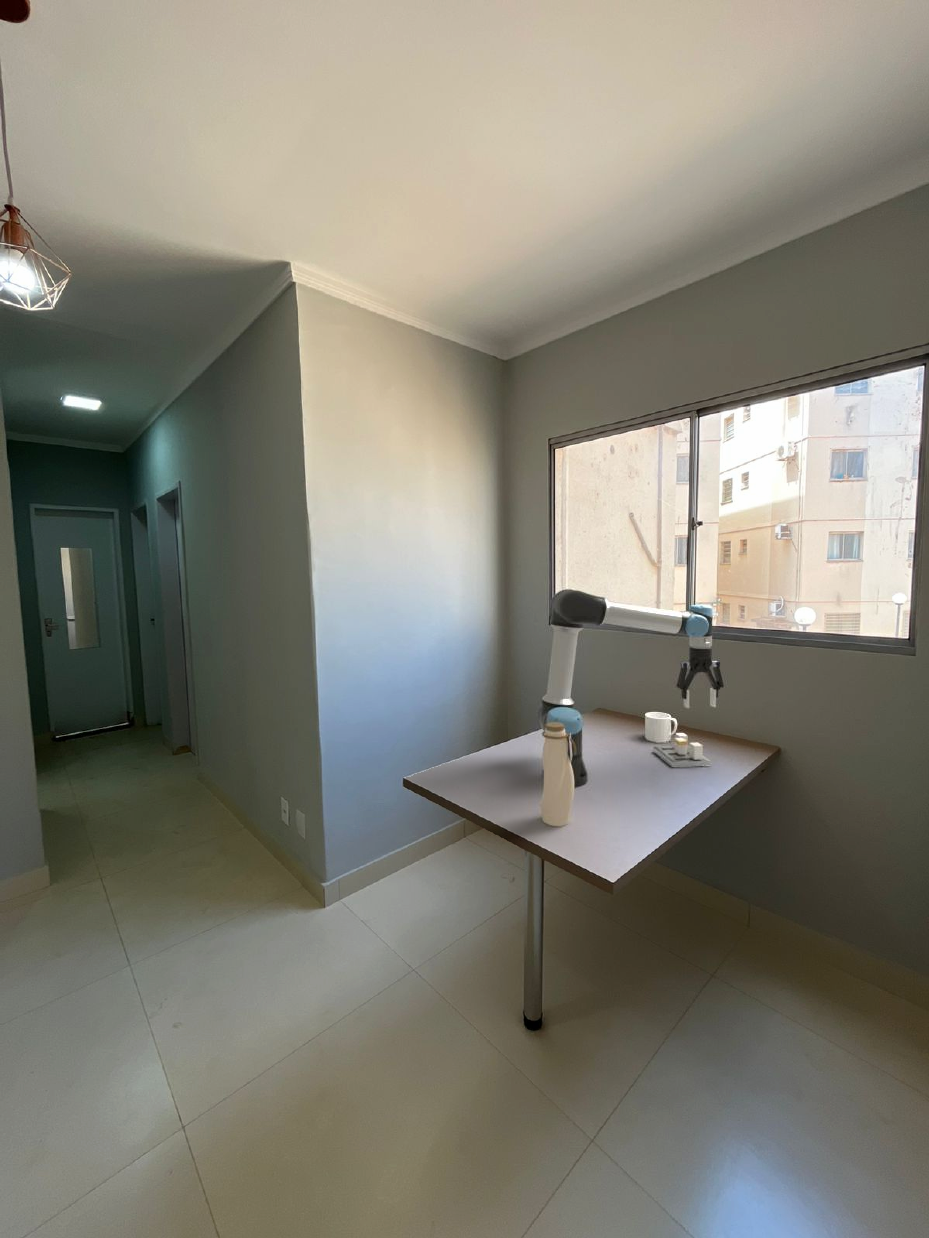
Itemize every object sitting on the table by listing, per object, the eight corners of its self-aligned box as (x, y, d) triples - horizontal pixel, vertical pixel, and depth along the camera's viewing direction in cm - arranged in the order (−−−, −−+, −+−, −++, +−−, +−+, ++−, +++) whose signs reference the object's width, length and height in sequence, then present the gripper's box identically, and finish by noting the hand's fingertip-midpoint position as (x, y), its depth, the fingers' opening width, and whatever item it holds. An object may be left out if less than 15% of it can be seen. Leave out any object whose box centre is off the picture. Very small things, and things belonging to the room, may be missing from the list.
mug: (641, 740, 208) (642, 716, 207) (649, 734, 216) (649, 710, 215) (673, 746, 200) (673, 721, 199) (679, 739, 208) (680, 715, 207)
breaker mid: (678, 754, 185) (679, 741, 184) (674, 751, 188) (674, 738, 188) (686, 754, 185) (687, 740, 184) (682, 750, 188) (682, 737, 188)
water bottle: (572, 811, 148) (571, 719, 145) (580, 826, 139) (579, 728, 136) (537, 812, 148) (536, 720, 145) (543, 827, 139) (542, 729, 136)
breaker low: (694, 759, 179) (694, 746, 179) (689, 755, 183) (689, 742, 182) (702, 759, 179) (702, 745, 179) (697, 755, 183) (697, 742, 183)
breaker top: (679, 748, 190) (679, 736, 190) (675, 745, 194) (675, 733, 193) (687, 748, 190) (687, 735, 190) (682, 745, 194) (683, 732, 193)
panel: (672, 767, 178) (672, 762, 178) (653, 752, 194) (653, 746, 194) (710, 766, 179) (710, 760, 179) (688, 750, 195) (688, 745, 195)
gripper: (676, 649, 179) (675, 710, 181) (735, 647, 180) (734, 708, 182) (666, 646, 186) (666, 705, 188) (724, 644, 187) (722, 703, 189)
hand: (699, 706), depth 185 cm, fingers open, 9 cm apart
